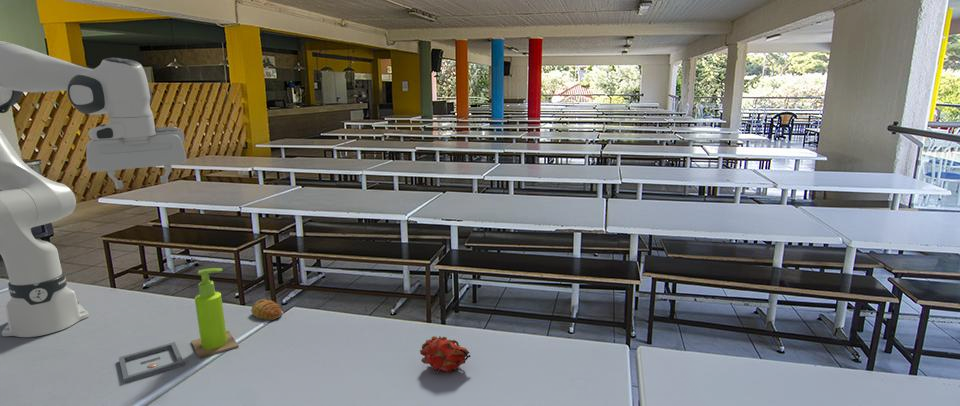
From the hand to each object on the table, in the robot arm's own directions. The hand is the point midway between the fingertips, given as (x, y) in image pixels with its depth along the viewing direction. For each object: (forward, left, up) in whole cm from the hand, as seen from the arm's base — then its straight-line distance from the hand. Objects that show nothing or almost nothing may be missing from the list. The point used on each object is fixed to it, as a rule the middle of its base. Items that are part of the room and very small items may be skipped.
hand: (142, 185), depth 129 cm
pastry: (+1, +25, -42) cm, 49 cm away
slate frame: (+11, -5, -41) cm, 43 cm away
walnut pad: (+11, +9, -41) cm, 43 cm away
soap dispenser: (+11, +9, -41) cm, 43 cm away
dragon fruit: (+57, +49, -41) cm, 86 cm away
